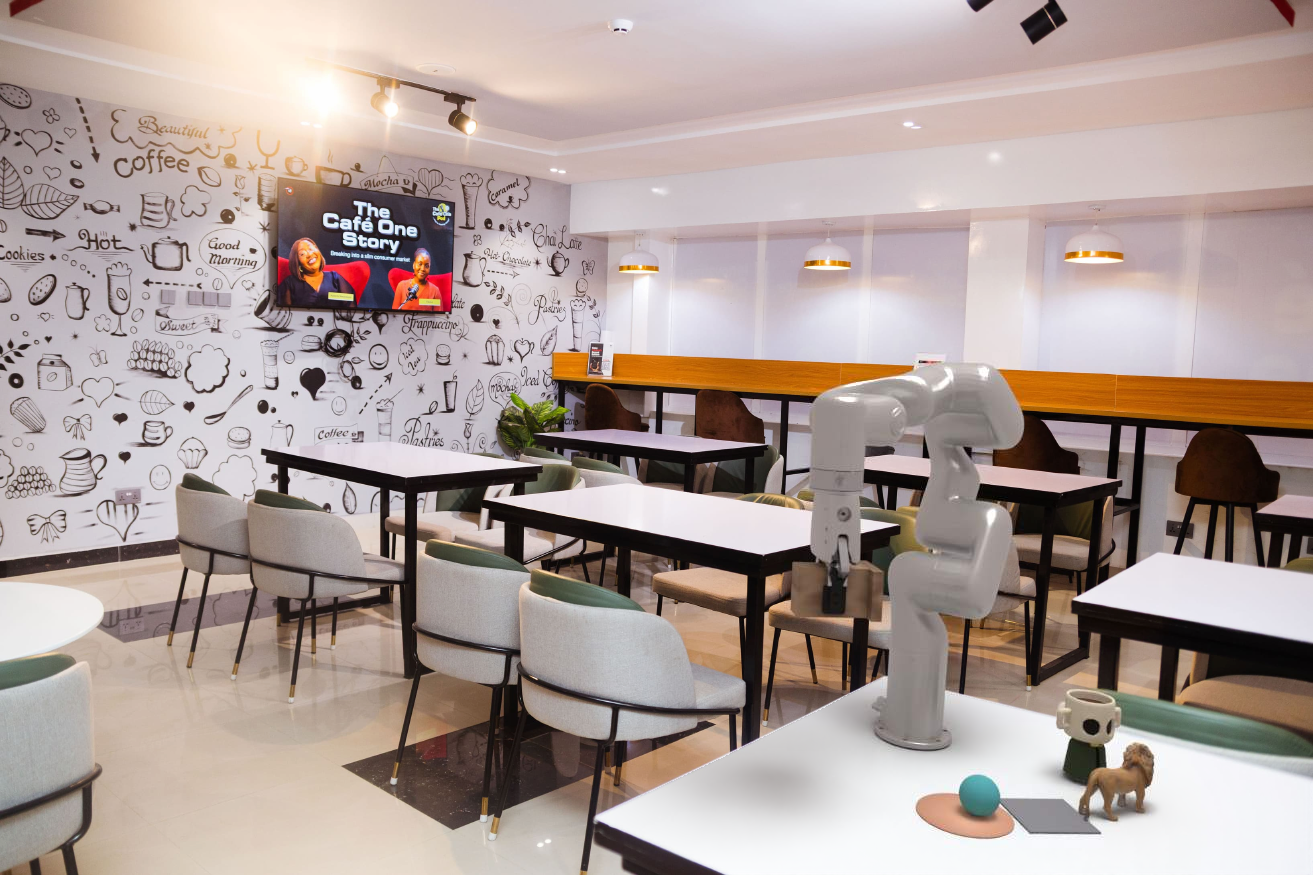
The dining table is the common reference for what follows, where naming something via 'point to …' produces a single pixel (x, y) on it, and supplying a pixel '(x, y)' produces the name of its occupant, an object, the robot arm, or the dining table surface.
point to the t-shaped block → (860, 592)
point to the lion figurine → (1121, 781)
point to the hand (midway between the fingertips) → (828, 608)
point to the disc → (962, 817)
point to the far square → (1048, 816)
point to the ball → (979, 795)
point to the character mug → (1087, 730)
